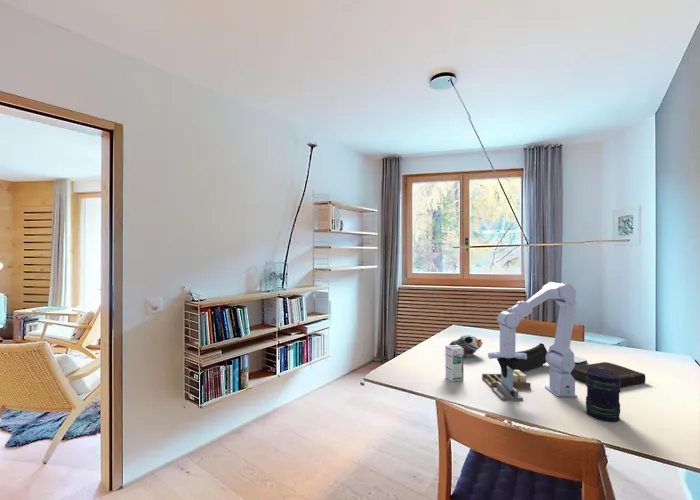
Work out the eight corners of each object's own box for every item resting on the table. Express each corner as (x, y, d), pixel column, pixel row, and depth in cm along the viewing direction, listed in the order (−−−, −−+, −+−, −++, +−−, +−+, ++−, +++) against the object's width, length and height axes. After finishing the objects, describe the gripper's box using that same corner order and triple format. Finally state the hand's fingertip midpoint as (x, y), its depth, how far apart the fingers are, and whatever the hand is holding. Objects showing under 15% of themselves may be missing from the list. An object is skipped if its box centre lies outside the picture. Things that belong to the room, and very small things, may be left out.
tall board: (513, 390, 140) (513, 370, 140) (509, 390, 140) (509, 370, 140) (504, 383, 148) (504, 363, 148) (500, 383, 148) (501, 363, 148)
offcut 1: (517, 385, 152) (518, 375, 152) (512, 384, 152) (512, 375, 152) (510, 378, 159) (510, 369, 159) (505, 378, 160) (505, 369, 159)
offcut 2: (526, 385, 152) (526, 375, 152) (520, 385, 152) (520, 375, 152) (518, 379, 159) (518, 369, 159) (513, 378, 159) (513, 369, 159)
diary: (646, 385, 158) (646, 373, 158) (606, 393, 149) (606, 380, 149) (602, 370, 175) (603, 360, 175) (565, 376, 166) (565, 365, 166)
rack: (530, 388, 150) (530, 383, 150) (491, 388, 151) (491, 382, 151) (518, 379, 161) (518, 373, 161) (482, 378, 162) (482, 373, 162)
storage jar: (594, 421, 123) (594, 377, 123) (580, 408, 133) (580, 367, 132) (626, 423, 121) (627, 378, 121) (610, 410, 131) (611, 369, 131)
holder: (523, 400, 139) (523, 391, 139) (501, 400, 139) (502, 391, 139) (511, 390, 149) (511, 381, 149) (491, 389, 149) (491, 381, 149)
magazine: (505, 356, 165) (544, 330, 178) (499, 355, 167) (538, 329, 181) (512, 391, 167) (550, 362, 181) (506, 388, 170) (544, 360, 184)
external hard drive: (532, 354, 201) (532, 350, 201) (546, 351, 206) (546, 348, 206) (576, 367, 180) (576, 363, 180) (589, 364, 185) (589, 360, 185)
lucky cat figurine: (468, 350, 206) (480, 330, 201) (476, 365, 195) (489, 344, 190) (445, 343, 203) (456, 323, 198) (452, 358, 192) (464, 337, 187)
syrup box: (452, 382, 157) (452, 348, 157) (444, 377, 163) (445, 344, 163) (463, 380, 159) (464, 347, 159) (456, 376, 165) (456, 344, 165)
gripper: (521, 339, 148) (520, 373, 148) (485, 339, 148) (484, 373, 148) (529, 344, 141) (529, 379, 141) (492, 344, 141) (491, 379, 141)
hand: (507, 376), depth 144 cm, fingers closed on tall board, 1 cm apart
